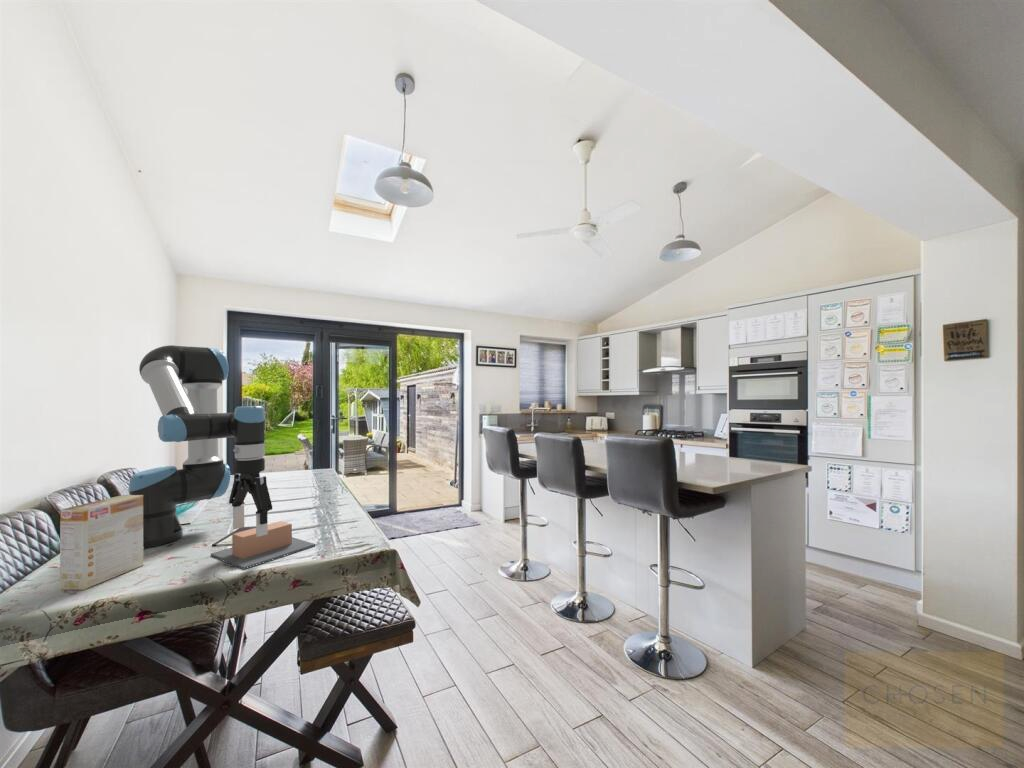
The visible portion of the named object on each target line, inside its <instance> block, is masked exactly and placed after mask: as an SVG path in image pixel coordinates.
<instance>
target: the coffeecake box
mask: <svg viewBox="0 0 1024 768" xmlns="http://www.w3.org/2000/svg"><path fill="white" fill-rule="evenodd" d="M59 511H60V513H59V514H60V515H59V516H60V519H59V520H60V522H59V523H60V524H59V525H60V527H59V532H60V533H59V539H60V540H59V543H60V544H59V546H60V547H59V553H60V554H59V590H64V591H65V590H76V591H77V590H78V591H84V590H87V589H89V588H92V587H94V586H96V585H98V584H101V583H103V582H105V581H109V580H111V579H113V578H115V577H118V576H120V575H123V574H125V573H127V572H131V571H133V570H134V569H137V568H140V567H143V566H144V548H143V495H129V494H121V495H118V496H117V495H116V496H112V497H108V498H105V499H100V500H96V501H91V502H88V503H83V504H78V505H75V506H70V507H67V508H61V509H60V510H59ZM142 565H143V566H142Z"/></svg>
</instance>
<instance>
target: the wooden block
mask: <svg viewBox="0 0 1024 768" xmlns="http://www.w3.org/2000/svg"><path fill="white" fill-rule="evenodd" d="M292 527H293V525H292V523H290V522H286V521H282V520H281V521H277V522H273V523H270V524H269V523H268V534H266V535H263V536H259V537H256V528H253V529H249V530H246V531H242V532H238V533H234V534H232V545H231V546H232V547H231V548H232V555H234V556H236V557H239V558H241V559H244V558H247V557H250V556H254V555H257V554H260V553H263V552H266V551H270V550H273V549H276V548H279V547H282V546H286V545H289V544H292V537H293V534H292V533H293V530H292V529H293V528H292Z"/></svg>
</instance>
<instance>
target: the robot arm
mask: <svg viewBox="0 0 1024 768" xmlns="http://www.w3.org/2000/svg"><path fill="white" fill-rule="evenodd" d="M138 368H139V369H138V370H139V374H140V377H141V380H143V382H145V383H146V384H148V386H149V387H150V390H151V392H152V395H153V397H154V399H155V401H156V403H157V406H158V408H159V411H160V413H161V415H162V416H160V417H159V420H158V422H157V433H158V437H159V440H161V441H162V442H164V443H169V442H170V443H171V442H172V443H173V442H176V443H182V442H187V458H186V459H185V461H184V462H182V468H181V469H178V468H177V467H176V466H175V465H167V466H160V467H159V466H158V467H155V468H151V469H150V468H149V469H146V470H142V471H139V472H137V473H135V474H133V475H132V476H131V477H130V478H129V482H128V484H129V486H128V489H127V490H128V495H143V547H148V548H150V547H149V546H153V547H157V546H156V545H158V546H161V545H160V544H162V545H165V544H164V543H166V544H169V542H170V543H173V542H175V541H178V540H179V539H181V538H182V537H183V535H184V534H183V526H182V525H181V522H180V520H179V517H178V515H177V505H182V504H189V503H193V502H199V501H205V500H206V501H207V500H208V501H209V500H212V499H215V498H220V497H222V496H224V495H225V494H226V492H227V491H228V489H229V486H230V483H231V471H230V470H231V469H230V465H228V464H227V463H224V458H222V457H221V456H220V455H219V439H227V438H234V448H233V451H232V452H234V458H235V459H236V460H235V461H234V466H233V467H234V470H233V471H234V476H233V483H232V488H231V491H230V496H229V500H228V503H229V504H231V506H232V517H233V518H232V530H233V531H235V530H237V529H239V528H242V527H245V504H246V502H245V499H246V497H247V495H248V494H250V495H251V498H252V499H253V500H252V501H254V505H255V508H256V510H257V511H255V526H256V537H259V536H263V535H266V534H268V524H269V523H268V518H269V517H268V516H269V515H268V514H269V513H268V512H269V511H272V510H273V505H272V501H271V496H270V492H269V488H268V483H267V476H266V475H263V476H261V474H260V473H261V472H264V471H265V470H266V468H265V467H266V464H265V463H266V460H265V458H264V456H266V443H265V438H266V437H265V435H266V434H265V425H266V423H265V421H266V417H265V415H266V414H265V408H264V407H263V406H262V405H248V406H246V405H242V406H236V407H235V409H234V412H220V413H219V412H218V389H219V388H220V387H221V386H223V382H224V381H225V380H227V379H228V377H229V372H230V370H229V362H228V358H227V356H226V355H225V352H223V351H222V350H221V349H218V348H213V347H212V348H211V347H208V346H207V347H203V346H200V347H199V346H183V345H182V346H181V345H174V344H173V345H163V346H160V347H159V346H158V347H157V348H154V349H152V350H150V351H149V352H147V353H146V354H145V356H143V358H142V359H141V361H140V363H139V367H138ZM186 390H187V392H186Z"/></svg>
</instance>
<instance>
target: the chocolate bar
mask: <svg viewBox="0 0 1024 768" xmlns="http://www.w3.org/2000/svg"><path fill="white" fill-rule="evenodd" d="M253 528H256V525H255V526H244V527H242V528H238V529H235V530H233V531H232V532H231V533H228V535H225V536H224V537H222V538H221V539H219V540H217V541H216V542H214V543H213V544H211V547H212V546H214V547H226V545H229V546H232V534H234V533H238V532H242V531H246V530H249V529H253Z"/></svg>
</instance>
